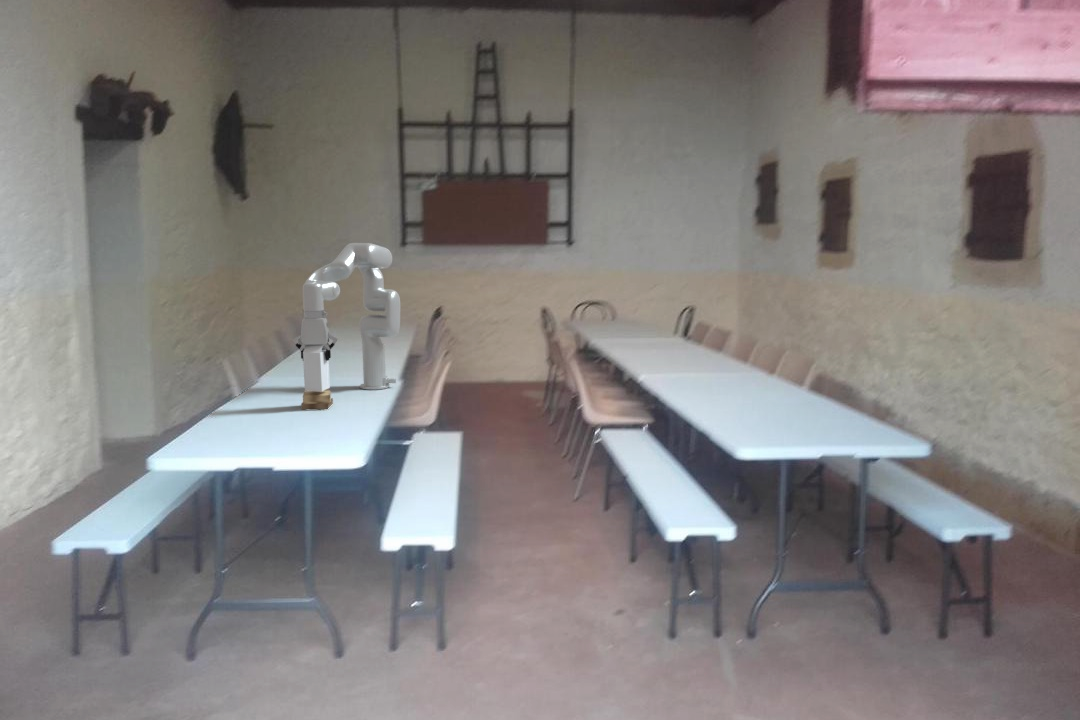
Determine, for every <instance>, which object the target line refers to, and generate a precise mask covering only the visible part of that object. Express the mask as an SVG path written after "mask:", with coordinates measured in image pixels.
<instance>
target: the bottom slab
mask: <svg viewBox="0 0 1080 720" xmlns="http://www.w3.org/2000/svg"><path fill="white" fill-rule="evenodd" d="M332 404H333V405H334V399H333V397H331V401H330V403H316V404H303V402H302V403H301V404H300V405H301V411H306V410H305V409H328V408H329V407H330V406H331V405H332ZM333 405H332V406H333ZM332 406H331V407H332ZM331 407H330V408H331ZM330 408H329V409H330ZM329 409H328V410H329Z"/></svg>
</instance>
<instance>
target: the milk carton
mask: <svg viewBox="0 0 1080 720" xmlns="http://www.w3.org/2000/svg"><path fill="white" fill-rule="evenodd" d="M329 361H330V359H329V360H328V361H327V360H326V347H325V346H324V345H306V346H305V349H304V351H303V359H302V362H303V382H304V391H327V390H329V389H330V388H331V382H330V365H329V364H330V363H329Z"/></svg>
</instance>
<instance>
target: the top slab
mask: <svg viewBox="0 0 1080 720" xmlns="http://www.w3.org/2000/svg"><path fill="white" fill-rule="evenodd" d="M331 392H332V391H331V390H329V389H326V390H324V391H305V390H304V391H303V395H302V403H303V404H316V403H330V401H331V398H332V393H331Z"/></svg>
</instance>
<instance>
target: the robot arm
mask: <svg viewBox="0 0 1080 720" xmlns="http://www.w3.org/2000/svg"><path fill="white" fill-rule="evenodd" d="M392 263H393V254H392V253H391V251H390V249H388V248H386V247H385V246H381V245H378V244H374V243H371V242H352V243H351V242H350V243H348V244H346V245H345V246H344V248H342V250H341V252H339V254H338V255H337V256H336V257H335V258H334V260H333V261H332V262H330V263H328V264H326V265H324V266H322V267H320V268H318V269H316V270H314V271H313V272H312V273H311V274H310V275H309V276H308V278H307V279H306V280H305V281H304V284H303V285H302V302H303V303H302V304H303V306H302V307H303V318H302V320H301V324H300V325H301V327H300V329H301V330H300V334H299V335H297V336H296V337H294V338H292V342H293V344H294V345H295V346H296V348H298V350H299V351H300V359H302V360H303V351H304V349H305V346H306V345H324V346H325V347H326V360H327V361H328V360H329V361H330V359H331V357H332V354H331V349H333V347H334V346H335V345H336V344H337V342H338V340H339V339H338V338H337V337H336V336H334V335H333V334H330V329H329V323H328V319H327V318H326V317H327V316H329V312H328V311H325V305H324V301H333V300H336V299H337V298H338V297H339V296H340V293H341V287H340V285H339V284H338V283H337V282H339V281H342V280H346V279H348V278H349V277H350V276H351V274H352V273H353V272H354V271H355V269H356V268H358V270H359V272H360V273H361V276H362V281H363V291H362V292H363V293H362V296H363V298H362V300H363V303H362V304H363V308H364V309H365V310H367V311H369V312H382V313H383V312H385V314H371V313H370V314H366V315H365V314H364V315H363V316H362V317H361V318H360V320H359V322H358V323H359V324H358V327H359V332H360V338H361V346H362V347H361V348H362V350H361V351H362V371H363V372H362V374H363V375H362V376H363V383H361V384H360V385H359V388H360V389H362V390H370V391H373V390H374V391H377V390H383V389H388V388H390V386H391V385H390V384H397V379H396V378H388V375H386V374H387V373H386V371H387V370H386V347H385V343H384V342H383V339H382V338H396V337H397V336H398V335H399V333H400V329H401V298H400V294H399V293H398V292H397V291H396V290H394V289H389V288H387V289H386V288H385V285H384V282H385V281H384V275H383V273H382V271H381V269H388V268H390V267H391V265H392ZM298 340H300V342H301V344H300V343H299V341H298ZM330 340H331V341H332V342H331V343H330ZM329 343H330V344H329Z"/></svg>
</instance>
